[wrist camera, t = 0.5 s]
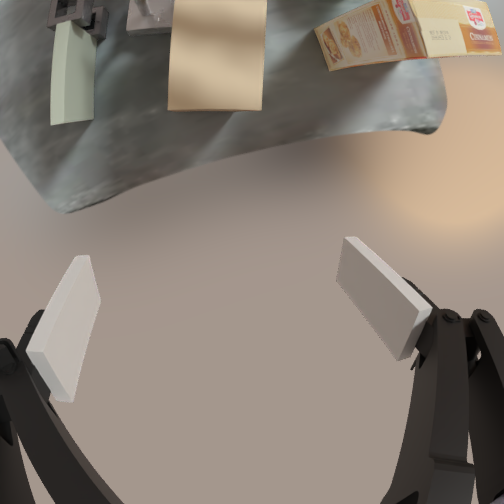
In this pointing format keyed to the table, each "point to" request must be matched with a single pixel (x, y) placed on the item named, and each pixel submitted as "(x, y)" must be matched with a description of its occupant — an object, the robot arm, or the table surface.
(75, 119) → the square frame paddle
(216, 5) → the cabinet
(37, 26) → the table surface
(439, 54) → the coffeecake box
